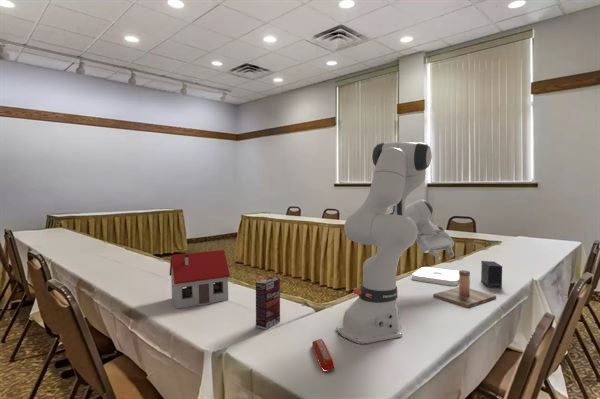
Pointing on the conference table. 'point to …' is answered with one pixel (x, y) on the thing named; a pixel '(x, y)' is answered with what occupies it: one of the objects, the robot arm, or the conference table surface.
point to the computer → (437, 276)
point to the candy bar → (323, 354)
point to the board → (464, 297)
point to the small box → (491, 274)
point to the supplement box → (267, 302)
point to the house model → (199, 278)
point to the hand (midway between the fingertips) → (446, 257)
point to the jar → (464, 283)
